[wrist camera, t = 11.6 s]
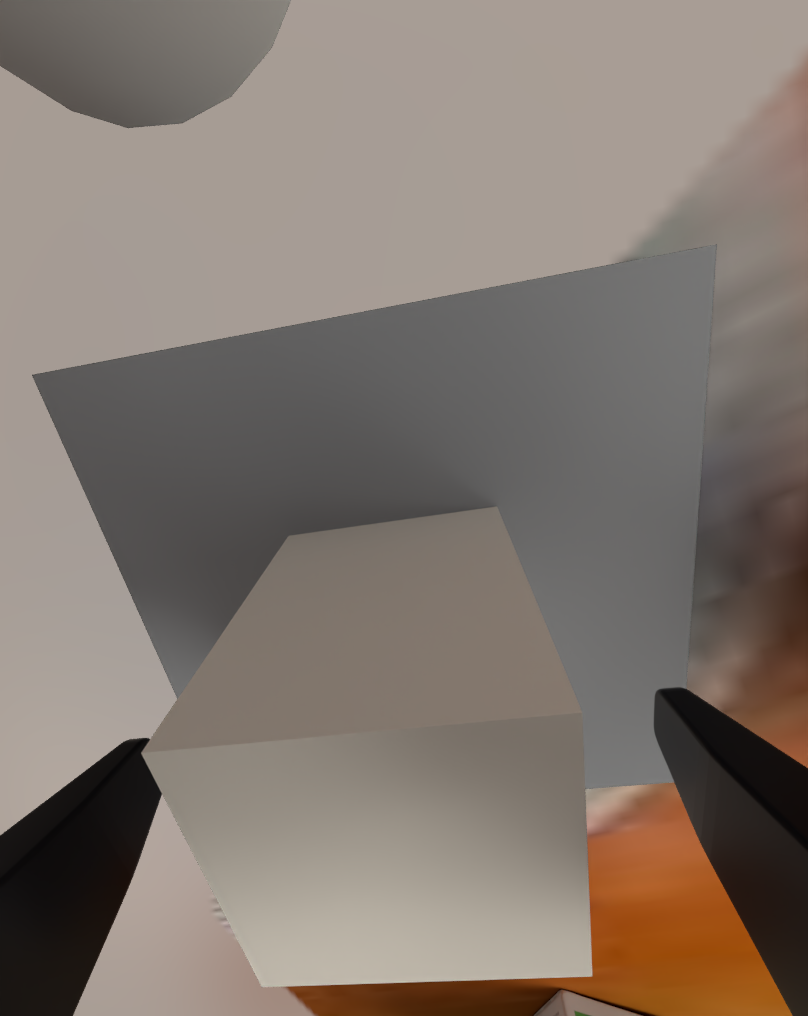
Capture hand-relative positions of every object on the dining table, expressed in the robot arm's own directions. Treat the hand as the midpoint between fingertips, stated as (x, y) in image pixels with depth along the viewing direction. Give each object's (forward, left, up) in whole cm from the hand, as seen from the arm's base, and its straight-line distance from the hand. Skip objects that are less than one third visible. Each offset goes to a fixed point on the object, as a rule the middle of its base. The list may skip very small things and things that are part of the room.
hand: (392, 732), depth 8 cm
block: (0, 0, -4) cm, 4 cm away
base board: (0, 0, -6) cm, 6 cm away
